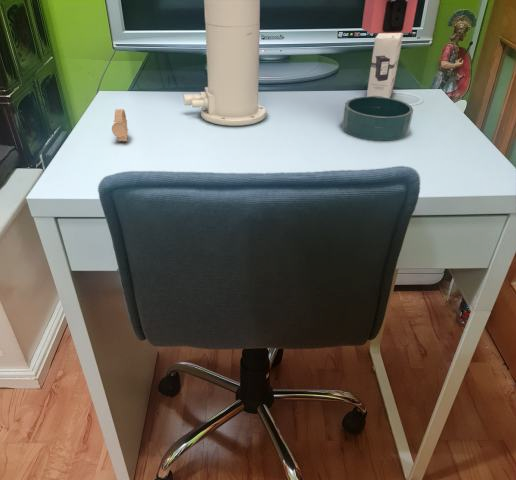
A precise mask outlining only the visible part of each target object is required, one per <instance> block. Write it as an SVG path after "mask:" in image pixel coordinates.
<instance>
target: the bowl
mask: <svg viewBox="0 0 516 480" xmlns="http://www.w3.org/2000/svg"><path fill="white" fill-rule="evenodd" d="M343 110H344V111H343V116H342V127H341V128H342V130H343V131H344V132H345V133H347V134H348V135H350V136H352V137H356V138H358V139H363V140H367V141H376V142H377V141H378V142H389V141H396V140H400V139H403V138H405V137H407V135H409V130H410V128H411V123H412V118H413V114H414V108H413V106H411V105H410V104H409V103H407V102H405V101H402V100H401V99H396V98H392V97H390V98H385V97H373V96H368V97H367V96H359V97H354V98H350V99H348V100H347V101H346V102H345V103H344V109H343Z"/></svg>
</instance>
